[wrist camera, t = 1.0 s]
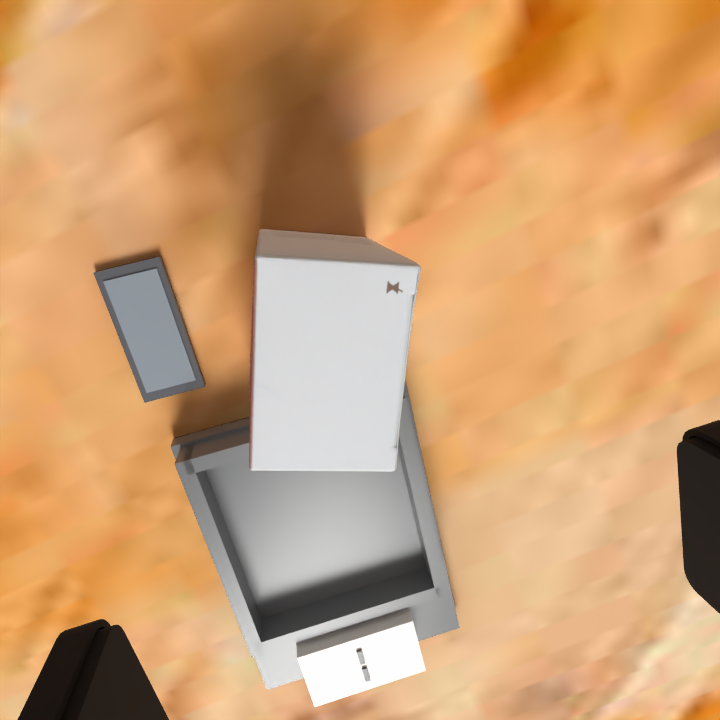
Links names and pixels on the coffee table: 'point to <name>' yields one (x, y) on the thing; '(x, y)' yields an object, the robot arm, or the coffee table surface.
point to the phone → (150, 328)
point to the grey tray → (322, 560)
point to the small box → (328, 352)
